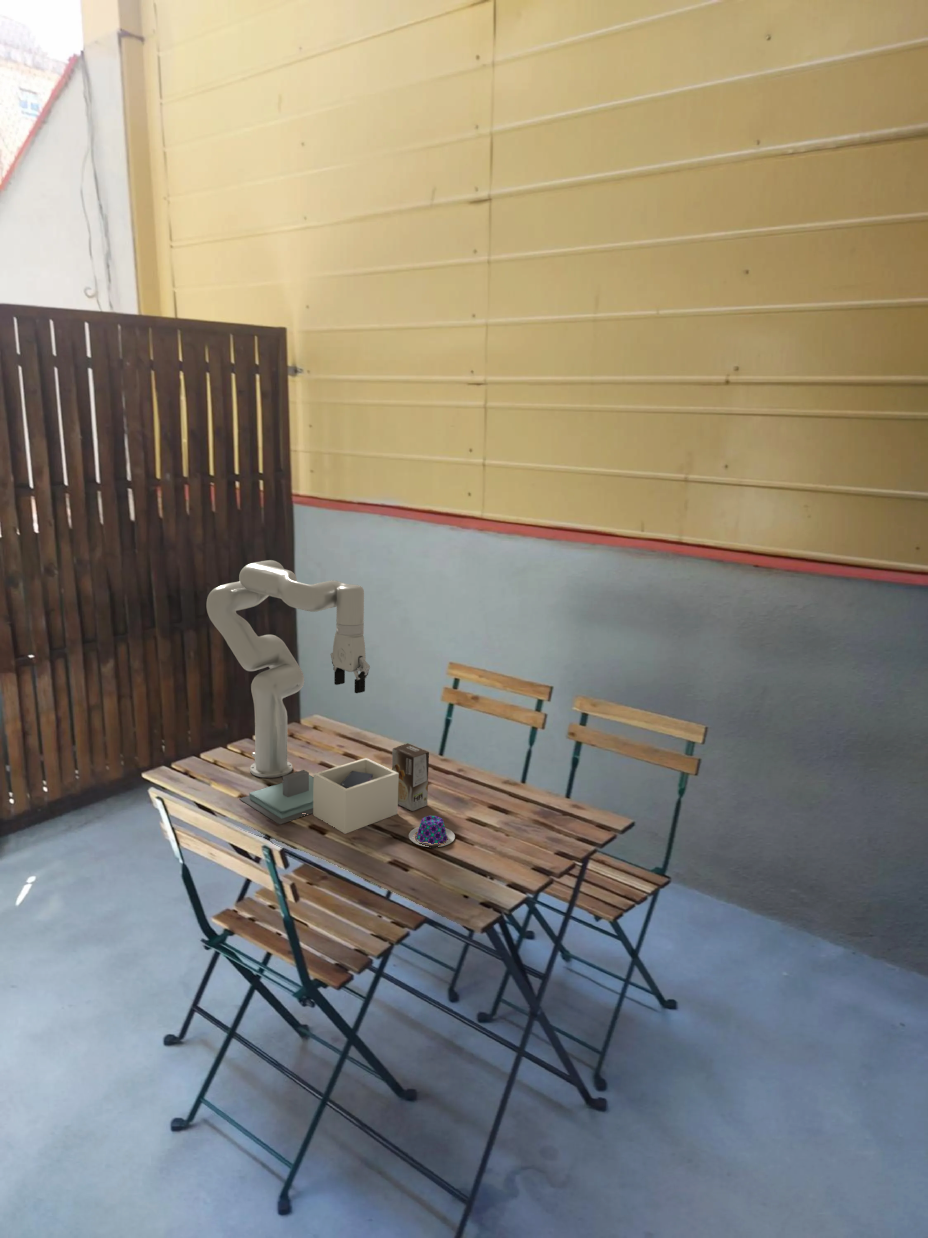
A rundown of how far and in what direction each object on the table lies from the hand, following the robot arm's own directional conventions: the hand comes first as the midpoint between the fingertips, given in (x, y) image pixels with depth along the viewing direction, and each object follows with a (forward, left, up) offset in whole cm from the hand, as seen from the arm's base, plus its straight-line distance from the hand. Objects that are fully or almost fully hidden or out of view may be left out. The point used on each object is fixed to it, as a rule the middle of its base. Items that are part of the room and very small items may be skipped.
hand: (349, 688), depth 234 cm
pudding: (+36, -1, -32) cm, 48 cm away
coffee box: (+17, +8, -32) cm, 37 cm away
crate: (+13, -8, -31) cm, 35 cm away
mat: (-5, -15, -31) cm, 35 cm away
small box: (+13, -8, -32) cm, 35 cm away
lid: (-5, -15, -31) cm, 35 cm away
